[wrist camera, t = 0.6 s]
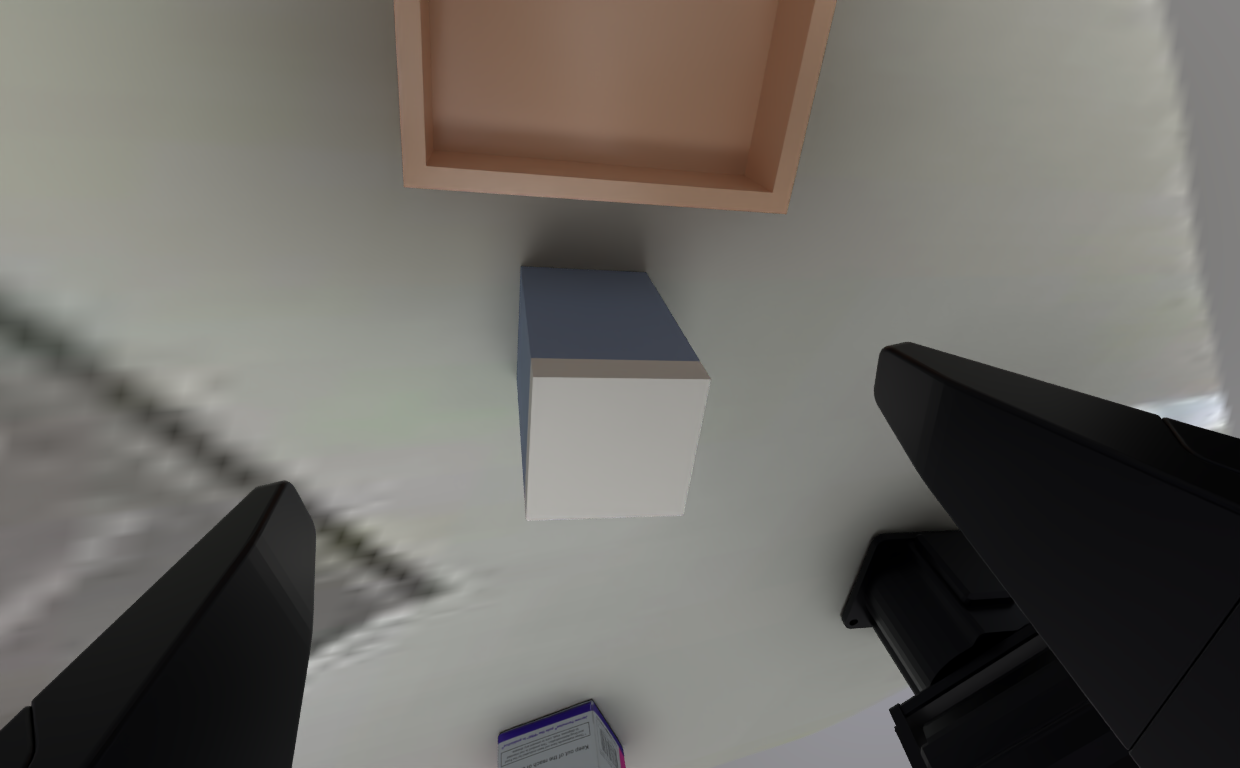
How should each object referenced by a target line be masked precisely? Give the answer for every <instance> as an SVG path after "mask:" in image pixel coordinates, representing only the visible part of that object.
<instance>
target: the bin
mask: <svg viewBox="0 0 1240 768" xmlns="http://www.w3.org/2000/svg"><path fill="white" fill-rule="evenodd" d="M836 2H837V0H394V17H395V35H396V53H397V72H398V90H399V108H400V127H401V145H402V163H403V181H404V187H406V188H421V189H435V190H449V191H463V192H478V193H492V194H506V195H520V196H535V197H549V198H563V199H577V200H591V201H606V202H620V203H634V204H648V205H663V206H677V207H691V208H705V209H720V210H734V211H748V212H762V213H776V214H787V210H788V206H789V202H790V197H791V193H792V189H793V185H794V180H795V176H796V172H797V168H798V163H799V159H800V155H801V151H802V146H803V142H804V138H805V134H806V129H807V125H808V121H809V117H810V112H811V108H812V104H813V100H814V95H815V91H816V87H817V83H818V78H819V74H820V70H821V66H822V61H823V57H824V53H825V49H826V44H827V40H828V36H829V32H830V27H831V23H832V19H833V15H834V10H835V6H836Z"/></svg>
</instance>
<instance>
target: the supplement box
mask: <svg viewBox="0 0 1240 768" xmlns="http://www.w3.org/2000/svg"><path fill="white" fill-rule="evenodd" d="M498 768H626V767H625V761H624V753H623V748H622V746H621V744H620V743H619V741H618V740H617V738H616V736H615V735H614V733H613V731H612V730H611V728H610V727H609V725H608V724H607V722H606V721H605V719H604V717H603V716H602V714H601V713H600V711H599V710H598V708H597V707H596V705H595V703H594V702H593V701H592V700H590V701H587V702H584V703H581V704H578V705H576V706H573V707H570V708H568V709H565V710H563V711H560V712H557V713H555V714H552V715H550V716H547V717H544V718H541V719H538V720H536V721H533V722H530V723H527V724H524V725H522V726H519V727H516V728H513V729H510V730H508V731H505V732H503V733H501V734H500V735H499V736H498Z"/></svg>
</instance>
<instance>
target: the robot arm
mask: <svg viewBox="0 0 1240 768" xmlns="http://www.w3.org/2000/svg"><path fill="white" fill-rule="evenodd" d="M874 396H875V400H876V403H877V405H878V407H879V408H880V410H881V412H882V414H883V415H884V417H885V419H886V420H887V422H888V424H889V425H890V427H891V429H892V430H893V432H894V434H895V435H896V437H897V439H898V440H899V442H900V444H901V445H902V447H903V449H904V450H905V452H906V454H907V455H908V457H909V459H910V460H911V462H912V464H913V465H914V467H915V469H916V470H917V472H918V473H919V475H920V476H921V478H922V479H923V481H924V482H925V484H926V485H927V486H928V488H929V489H930V491H931V492H932V493H933V495H934V496H935V497H936V499H937V500H938V501H939V503H940V504H941V505H942V507H943V508H944V509H945V510H946V512H947V513H948V514H949V516H950V517H951V518H952V520H953V521H954V522H955V524H956V525H957V526H958V528H959V529H960V531H936V532H912V533H889V534H880V535H878V536H876V537H875V538H874V539H873V541H872V543H871V545H870V548H869V550H868V553H867V555H866V558H865V560H864V563H863V565H862V568H861V570H860V573H859V575H858V578H857V580H856V583H855V585H854V588H853V590H852V593H851V595H850V598H849V600H848V603H847V605H846V608H845V610H844V613H843V615H842V621H843V623H844V625H845V626H846V628H849V629H853V628H866V627H873V629H874V630H875V632H876V633H877V635H878V637H879V638H880V640H881V641H882V643H883V645H884V646H885V648H886V649H887V651H888V653H889V654H890V656H891V657H892V659H893V661H894V662H895V664H896V665H897V667H898V669H899V670H900V672H901V673H902V675H903V677H904V678H905V680H906V681H907V683H908V685H909V686H910V688H911V689H912V691H913V692H914V694H915V696H913V697H911V698H910V699H909V700H907V701H905V702H904V703H902V704H901V705H900V704H897V705H895V706H893V707H892V708H890V709H889V711H890V714H891V715H892V718H893V720H894V722H895V724H896V726H895V727H894V728H895V732H896V733H897V735H898V737H899V739H900V741H901V744H902V746H903V748H904V750H905V752H906V755H907V757H908V759H909V761H910V764H911V766H912V768H1240V439H1239V438H1236V437H1232V436H1229V435H1225V434H1221V433H1218V432H1214V431H1211V430H1207V429H1204V428H1200V427H1197V426H1193V425H1190V424H1186V423H1183V422H1180V421H1176V420H1173V419H1170V418H1162V419H1161V418H1160V416H1158V415H1156V414H1152V413H1149V412H1145V411H1142V410H1139V409H1135V408H1132V407H1129V406H1125V405H1122V404H1118V403H1115V402H1112V401H1108V400H1105V399H1101V398H1098V397H1095V396H1091V395H1088V394H1084V393H1081V392H1078V391H1074V390H1071V389H1068V388H1064V387H1061V386H1057V385H1054V384H1051V383H1047V382H1044V381H1040V380H1037V379H1034V378H1030V377H1027V376H1023V375H1020V374H1017V373H1013V372H1010V371H1007V370H1003V369H1000V368H996V367H993V366H990V365H986V364H983V363H979V362H976V361H973V360H969V359H966V358H962V357H959V356H956V355H952V354H949V353H946V352H942V351H939V350H935V349H932V348H929V347H925V346H922V345H918V344H915V343H912V342H903V343H899V344H894V345H890V346H886V347H884V348H883V349H882V350H881V352H880V354H879V359H878V366H877V372H876V379H875V385H874ZM315 554H316V530H315V526H314V523H313V520H312V518H311V516H310V514H309V512H308V511H307V509H306V507H305V505H304V503H303V502H302V500H301V498H300V496H299V494H298V492H297V491H296V489H295V487H294V486H293V485H292V484H291V483H290V482H288V481H279V482H275V483H270V484H265V485H261V486H258V487H256V488H255V489H254V490H252V491H251V492H250V493H249V494H248V495H247V496H246V497H245V498H244V499H243V500H242V501H241V502H240V503H239V504H238V505H237V506H236V507H235V508H233V509H232V510H231V511H230V512H229V513H228V514H227V515H226V516H225V517H224V518H223V519H222V520H221V521H220V522H219V523H218V524H217V525H216V526H215V527H214V528H213V529H211V530H210V531H209V532H208V533H207V534H206V535H205V536H204V537H203V538H202V539H201V540H200V541H199V542H198V543H197V544H196V545H195V546H194V547H193V548H192V549H190V550H189V551H188V552H187V553H186V554H185V555H184V556H183V557H182V558H181V559H180V560H179V561H178V562H177V563H176V564H175V565H174V566H173V567H172V568H171V569H169V570H168V571H167V572H166V573H165V574H164V575H163V576H162V577H161V578H160V579H159V580H158V581H157V582H156V583H155V584H154V585H153V586H152V587H151V588H150V589H148V590H147V591H146V592H145V593H144V594H143V595H142V596H141V597H140V598H139V599H138V600H137V601H136V602H135V603H134V604H133V605H132V606H131V607H130V608H129V609H127V610H126V611H125V612H124V613H123V614H122V615H121V616H120V617H119V618H118V619H117V620H116V621H115V622H114V623H113V624H112V625H111V626H110V627H109V628H108V629H106V630H105V631H104V632H103V633H102V634H101V635H100V636H99V637H98V638H97V639H96V640H95V641H94V642H93V643H92V644H91V645H90V646H89V647H88V648H87V649H85V650H84V651H83V652H82V653H81V654H80V655H79V656H78V657H77V658H76V659H75V660H74V661H73V662H72V663H71V664H70V665H69V666H68V667H67V668H66V669H64V670H63V671H62V672H61V673H60V674H59V675H58V676H57V677H56V678H55V679H54V680H53V681H52V682H51V683H50V684H49V685H48V686H47V687H46V688H45V689H43V690H42V691H41V692H40V693H39V694H38V695H37V696H36V697H35V698H34V699H33V700H32V703H31V706H27V707H25V708H23V709H22V710H21V711H20V712H19V713H18V714H17V715H16V716H15V717H14V718H13V719H12V720H11V721H10V722H9V723H8V724H7V725H6V726H5V727H3V728H2V729H1V730H0V768H292V762H293V756H294V750H295V743H296V737H297V731H298V724H299V718H300V712H301V706H302V699H303V693H304V687H305V680H306V674H307V668H308V661H309V655H310V648H311V640H312V632H313V615H314V584H315Z"/></svg>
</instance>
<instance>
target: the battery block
mask: <svg viewBox="0 0 1240 768" xmlns="http://www.w3.org/2000/svg"><path fill="white" fill-rule="evenodd" d="M710 382H711V378H710V377H709V375H708V373H707V372H706V370H705V369H704V367H703V365H702V364H701V362H700V360H699V359H698V357H697V355H696V354H695V352H694V350H693V349H692V347H691V345H690V344H689V342H688V341H687V339H686V337H685V336H684V334H683V332H682V331H681V329H680V327H679V326H678V324H677V322H676V321H675V319H674V317H673V316H672V314H671V312H670V311H669V309H668V308H667V306H666V304H665V303H664V301H663V299H662V298H661V296H660V294H659V293H658V291H657V289H656V288H655V286H654V284H653V283H652V281H651V279H650V278H649V276H648V275H647V273H646V272H629V271H609V270H588V269H567V268H546V267H525V266H521V272H520V301H519V330H518V359H517V390H518V405H519V421H520V436H521V452H522V467H523V482H524V498H525V513H526V521H537V520H567V519H597V518H628V517H658V516H683V515H684V510H685V505H686V500H687V495H688V490H689V485H690V481H691V476H692V471H693V466H694V461H695V456H696V451H697V446H698V441H699V436H700V431H701V427H702V422H703V417H704V412H705V407H706V402H707V397H708V392H709V387H710Z"/></svg>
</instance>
